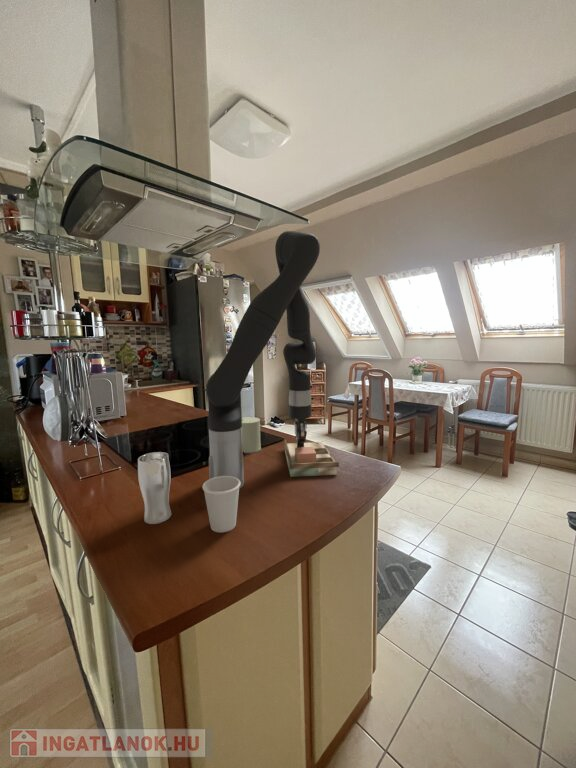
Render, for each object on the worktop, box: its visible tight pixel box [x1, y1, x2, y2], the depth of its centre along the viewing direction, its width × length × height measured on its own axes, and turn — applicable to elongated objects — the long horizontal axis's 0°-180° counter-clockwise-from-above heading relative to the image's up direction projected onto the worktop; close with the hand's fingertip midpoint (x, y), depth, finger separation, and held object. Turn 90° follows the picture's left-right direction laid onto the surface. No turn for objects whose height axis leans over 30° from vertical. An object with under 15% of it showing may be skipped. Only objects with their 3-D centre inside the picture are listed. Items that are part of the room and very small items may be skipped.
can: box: [242, 416, 262, 454], centre depth 121 cm, size 9×9×12 cm
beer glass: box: [137, 451, 172, 525], centre depth 75 cm, size 7×7×15 cm
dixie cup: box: [201, 476, 241, 534], centre depth 71 cm, size 8×8×10 cm
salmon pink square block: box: [295, 447, 316, 463], centre depth 103 cm, size 6×6×4 cm
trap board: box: [283, 439, 340, 478], centre depth 109 cm, size 15×24×4 cm, turn 5°
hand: (300, 452), depth 108 cm, fingers closed
